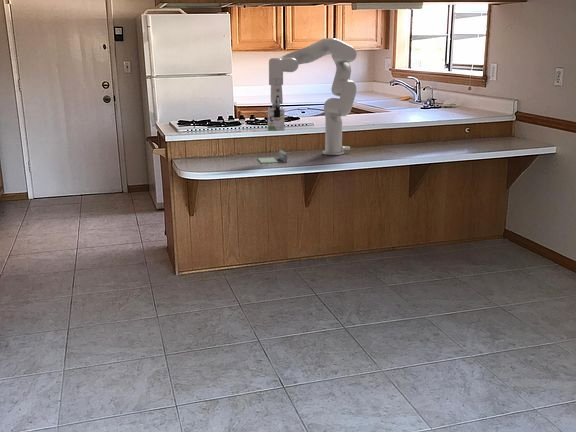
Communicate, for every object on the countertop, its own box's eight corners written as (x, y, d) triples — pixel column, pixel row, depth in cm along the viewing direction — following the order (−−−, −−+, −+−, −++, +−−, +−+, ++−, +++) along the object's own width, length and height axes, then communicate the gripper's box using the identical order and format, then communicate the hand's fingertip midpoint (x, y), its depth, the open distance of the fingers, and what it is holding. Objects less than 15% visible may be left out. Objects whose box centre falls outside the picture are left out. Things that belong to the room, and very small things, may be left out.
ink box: (269, 131, 323) (269, 108, 320) (267, 129, 328) (267, 107, 324) (284, 130, 325) (284, 108, 321) (282, 129, 329) (282, 107, 326)
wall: (282, 158, 338) (282, 150, 336) (287, 162, 325) (287, 154, 324) (279, 158, 337) (278, 150, 336) (283, 162, 325) (283, 154, 324)
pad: (273, 158, 337) (273, 157, 337) (278, 162, 324) (278, 161, 324) (257, 159, 335) (257, 158, 335) (261, 163, 323) (261, 162, 323)
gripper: (286, 82, 312) (286, 118, 317) (279, 81, 328) (279, 115, 333) (272, 83, 311) (272, 118, 315) (266, 81, 327) (266, 115, 331)
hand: (276, 116), depth 324 cm, fingers closed on ink box, 5 cm apart
